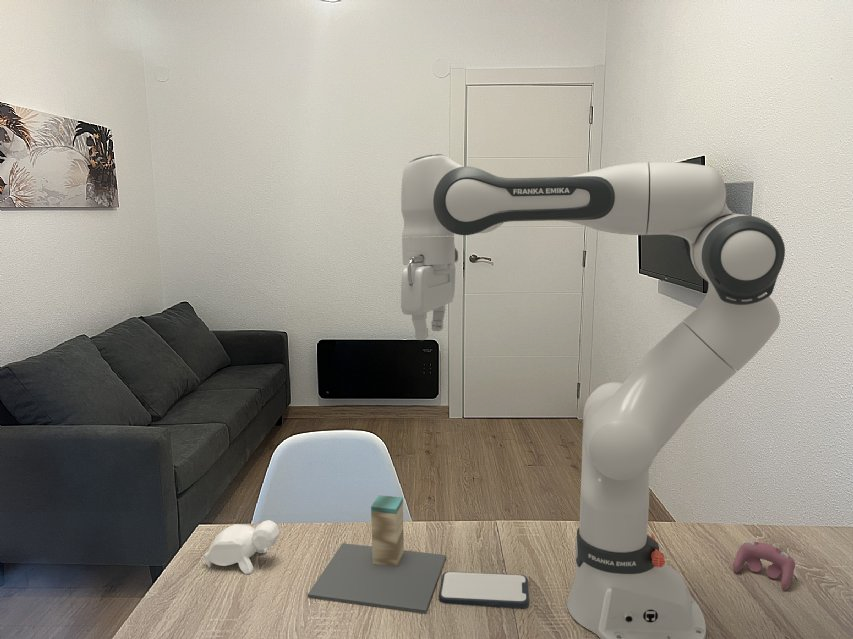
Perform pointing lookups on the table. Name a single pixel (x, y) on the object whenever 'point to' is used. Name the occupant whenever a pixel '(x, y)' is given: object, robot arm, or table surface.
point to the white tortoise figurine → (241, 544)
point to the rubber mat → (379, 579)
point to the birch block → (387, 530)
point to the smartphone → (484, 589)
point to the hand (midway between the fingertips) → (430, 334)
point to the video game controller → (779, 558)
